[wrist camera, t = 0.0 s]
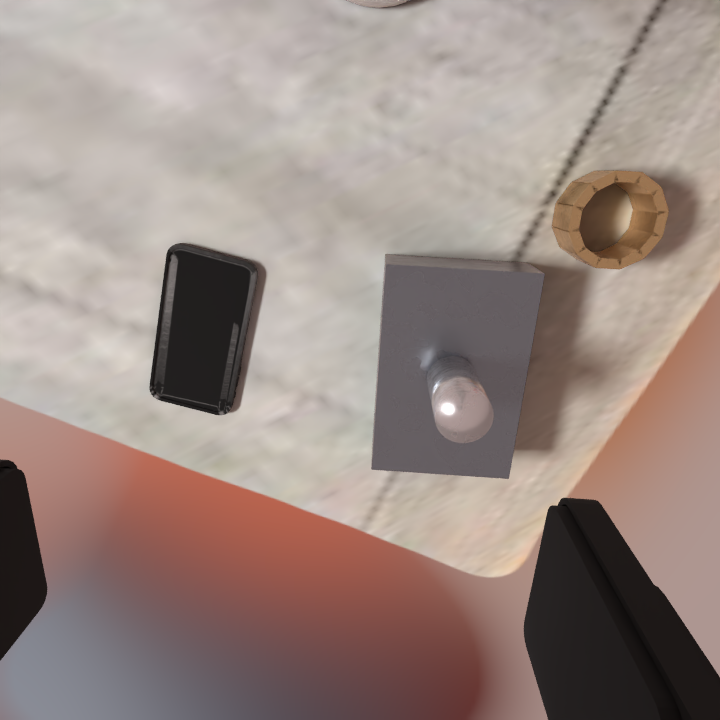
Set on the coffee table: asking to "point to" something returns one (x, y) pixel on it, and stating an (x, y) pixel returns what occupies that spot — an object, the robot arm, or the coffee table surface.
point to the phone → (202, 328)
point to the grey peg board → (453, 364)
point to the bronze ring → (643, 224)
